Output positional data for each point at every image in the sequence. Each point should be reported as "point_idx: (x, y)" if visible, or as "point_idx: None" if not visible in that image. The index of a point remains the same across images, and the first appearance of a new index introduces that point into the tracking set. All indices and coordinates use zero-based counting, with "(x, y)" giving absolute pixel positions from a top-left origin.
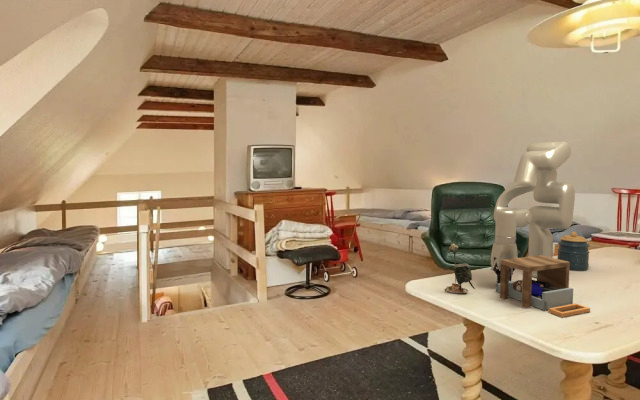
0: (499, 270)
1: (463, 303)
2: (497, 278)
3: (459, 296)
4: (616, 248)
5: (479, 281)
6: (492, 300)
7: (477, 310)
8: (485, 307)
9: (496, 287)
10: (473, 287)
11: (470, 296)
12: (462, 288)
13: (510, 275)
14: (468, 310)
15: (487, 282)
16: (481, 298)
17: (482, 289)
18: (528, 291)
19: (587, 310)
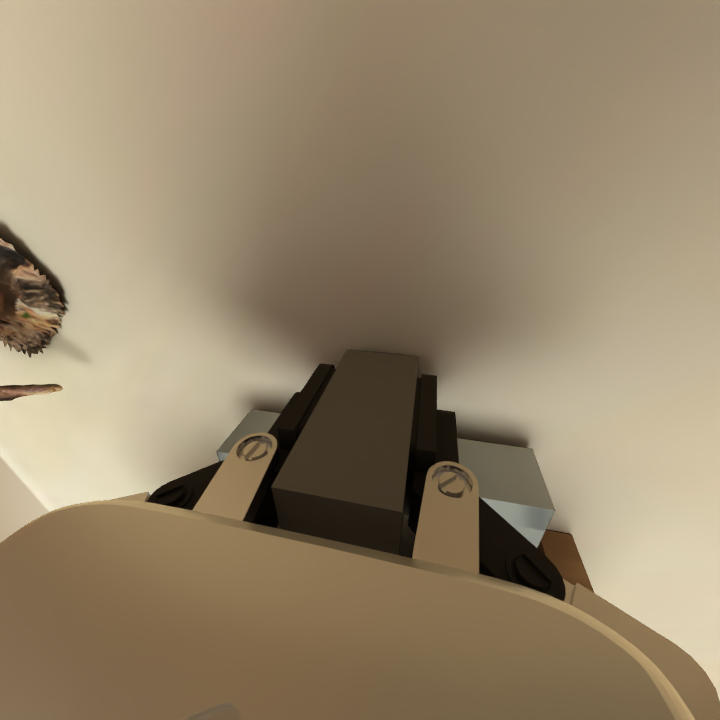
0: (273, 497)
1: (15, 430)
2: (279, 420)
3: (2, 356)
4: None
5: (308, 47)
6: (161, 471)
7: (60, 494)
8: (98, 495)
9: (235, 434)
10: (39, 391)
11: (65, 384)
12: (7, 284)
13: (408, 523)
14: (27, 479)
15: (378, 146)
16: (116, 431)
17: (190, 322)
18: None
19: None
